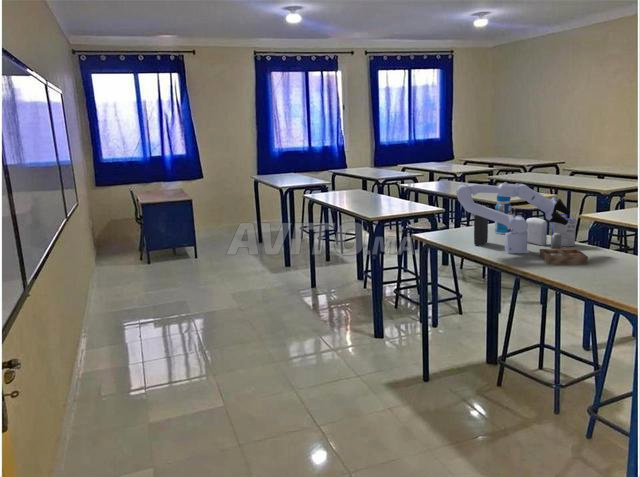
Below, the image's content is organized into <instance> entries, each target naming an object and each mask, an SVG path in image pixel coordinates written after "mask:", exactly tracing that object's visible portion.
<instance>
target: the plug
mask: <svg viewBox="0 0 640 477" xmlns="http://www.w3.org/2000/svg"><path fill="white" fill-rule="evenodd" d="M561 240H562V235H560V233H554V234H553V235H552V241H551V240H550V245H551V246H550V247H551V248H550V249H562V246H561Z"/></svg>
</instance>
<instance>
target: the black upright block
mask: <svg viewBox="0 0 640 477" xmlns="http://www.w3.org/2000/svg"><path fill="white" fill-rule="evenodd" d="M473 220H474V221H473V222H474V223H473V244H474V245H475V246H478V245H481V246H482V244H483V245H484V244H486V243H488V239H489V238H488V237H489V235H488V232H489V219H487V218H484V217H481V216H478V215H476V214H474V217H473Z"/></svg>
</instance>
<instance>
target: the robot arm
mask: <svg viewBox="0 0 640 477" xmlns="http://www.w3.org/2000/svg"><path fill="white" fill-rule="evenodd" d="M479 193H481V194H482V193H483V194H497V195H499V196H504V197H511V198H516V197H518V198H519V199H520V200H525V201H527V203H528V204H530V205H532V206H534V207H536V208H537V209H538V210H541V211H542V212H544V214H545V220H547V222H549V223H551V222H555V223H560V224H563V225H566V224H567V223H568V221H567V220H566V219H565V218H563V217H564V216H563V215H562V216H561V215H560V214H566V215H567V216H568V215H569V214H570V213H571V210H570V209H569V208H568V206H566V205H565V203H564V202H563V201H562V199H561V198H558V197H557V198H556V197H555V196H553V197H552V198H551V199H549V198H548V197H546V196H544V195H543V194H541V193H539V192H538V191H536V190H534V189H531V188H530V187H529V186H528V185H526V184H523V183H515V184H514V183H508V182H506V181H505V182H503V183H500V184H498V185H490V184H481V183H479V184H478V183H467V184H466V183H461V184H459V185H458V186H457V187H456V197H457V200H458V202H459V203H460V204H461V206H462V207H463V209H464V210H465V211H466V212H468V213H471V214H473V215H478V216H481V217H484V218H487V219H488V220H489V221H492V222H494V223H495V222H498V223H501V224H504V225H506V226H507V227H509V228H511V232H509V233H505V234H504V251H505V252H506V253H507V254H530V253H531V252H530V250H528V242H527V236H528V231H527V229H528V224H527V222H526V219H525V217H523V216H522V215H513V214H512V215H508V214H505V213H502V212H499V211H496V209H493V208H489V207H488V206H485V205H481V204H479V203H477V202H475V201H474V199H473V197H472V196H476V195H477V194H479ZM554 211H556V212H555V213H554ZM559 212H560V213H559Z"/></svg>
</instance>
